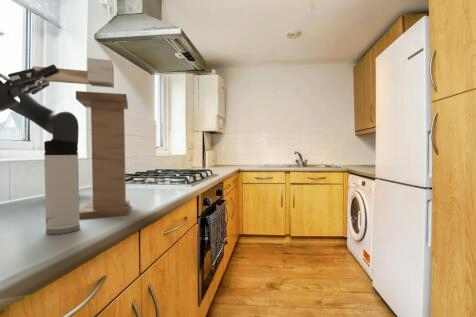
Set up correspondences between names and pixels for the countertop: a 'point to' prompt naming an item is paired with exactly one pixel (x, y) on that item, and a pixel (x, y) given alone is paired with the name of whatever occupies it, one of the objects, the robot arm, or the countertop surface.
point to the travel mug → (61, 186)
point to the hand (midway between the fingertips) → (58, 70)
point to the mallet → (86, 74)
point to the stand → (106, 154)
